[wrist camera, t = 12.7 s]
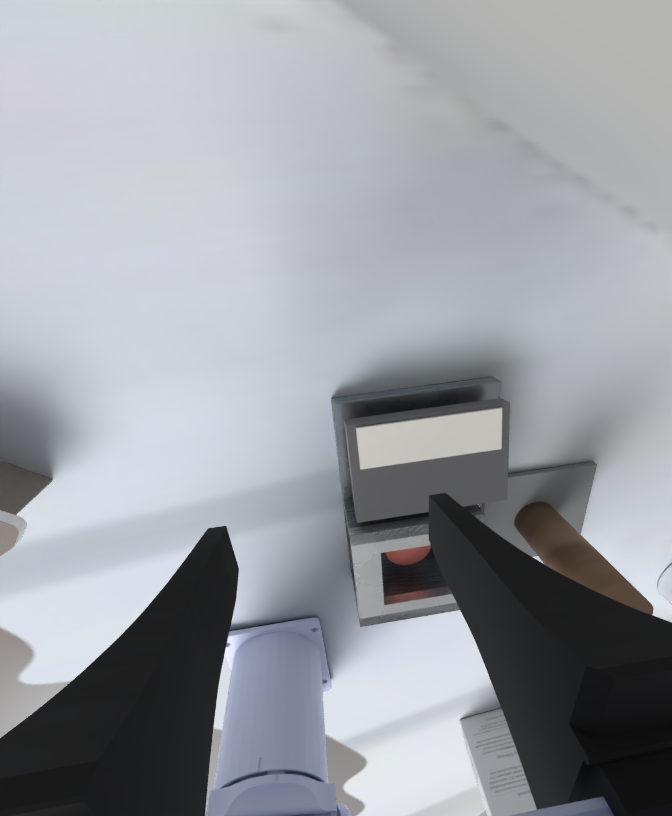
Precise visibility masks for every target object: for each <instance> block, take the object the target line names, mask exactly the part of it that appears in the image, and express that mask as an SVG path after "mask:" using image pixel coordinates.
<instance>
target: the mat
mask: <svg viewBox="0 0 672 816" xmlns="http://www.w3.org/2000/svg"><path fill="white" fill-rule="evenodd" d="M596 466H597V464H595V463H594V462H593V461H592V462H586V463H579V464H572V465H566V466H559V467H552V468H546V469H539V470H532V471H526V472H519V473H512V474H508V494H507V500H503V501H496V502H490V503H483V504H482V506H481V511H482V512H483V513H484V515H485V516H484V524H485V525H486V526H488V527H489V528H490V529H492V530H493V531H494V532H496V533H497V534H498V535H500V536H501V537H502V538H504V539H505V540H507V541H508V542H510V543H511V544H513V545H514V546H516V547H517V548H518V549H520V550H521V551H523V552H525V553H526V554H528V555H529V556H531V557H533V556H538V555H537V554H536V553H535V552H534V550H533V549H532V548H531V547H530V545H529V544H528V543H527V542H526V540H525V539H524V538H523V537H522V535H521V534H520V533H519V532H518V530H517V529H516V528H515V525H514V520H515V517H516V515H517V513H518V512H519V511H520V510H521V509H522V508H523V507H525V506H526V505H528V504H530V503H533V502H546V503H548V504H550V505H551V506H552V507H553V508H554V509H555V510H556V511H557V512H558V513H559V514H560V515H561V516H562V517H563V518H564V519H565V520H566V521H567V522H568V523H569V524H570V525H571V526H572V527H573V528H574V529H575V530H576V531H577V532H578V533H579V534H581V530H582V525H583V521H584V517H585V513H586V508H587V504H588V500H589V496H590V492H591V487H592V483H593V479H594V475H595V471H596Z"/></svg>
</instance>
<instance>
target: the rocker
mask: <svg viewBox="0 0 672 816" xmlns="http://www.w3.org/2000/svg"><path fill="white" fill-rule="evenodd" d="M509 414H510V403H509V402H507V401H505V400H503V399H501V398H498V399H490V400H483V401H476V402H469V403H461V404H454V405H447V406H440V407H432V408H425V409H418V410H410V411H403V412H396V413H389V414H381V415H374V416H367V417H360V418H352V419H345V420H344V423H345V432H346V441H347V450H348V458H349V467H350V476H351V484H352V493H353V502H354V511H355V516H356V520H357V523H360V522H366V521H373V520H379V519H386V518H392V517H399V516H405V515H412V514H418V513H425V512H429V495H435V494H441V493H446V494H448V495H449V496H450V497H451V498H453V499H454V500H455V501H456V502H458V503H459V504H460V505H461V506H462V507H464V506H470V505H477V504H483V503H490V502H496V501H503V500H507V494H508V454H509Z"/></svg>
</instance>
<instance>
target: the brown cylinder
mask: <svg viewBox="0 0 672 816" xmlns="http://www.w3.org/2000/svg"><path fill="white" fill-rule="evenodd" d="M514 525H515V528H516V529H517V530H518V532H519V533H520V534H521V535H522V537H523V538H524V539H525V540H526V542H527V543H528V544H529V545H530V547H531V548H532V549H533V550H534V552H535V553H536V554H537V555H538V556H539V558H540V559H541V560H542V561H543V563H544V564H545V565H546V566H548V567H549V568H551V569H553V570H555V571H557V572H558V573H560V574H562V575H564V576H566V577H568V578H570V579H572V580H574V581H576V582H578V583H580V584H582V585H584V586H585V587H587V588H590V589H592V590H594V591H596V592H598V593H600V594H602V595H604V596H607V597H609V598H611V599H614V600H616V601H618V602H620V603H623V604H625V605H627V606H630V607H632V608H634V609H637V610H639V611H642V612H645V613H647V614H650V615H652V614H653V606H652V604H651V603H650V602H649V601H648V600H647V599H646V598H645V597H644V596H643V595H642V594H641V593H640V592H639V591H637V590H636V589H635V588H634V587H633V586H632V585H631V584H630V583H629V582H628V581H627V580H626V579H625V578H624V577H623V576H622V575H621V574H620V573H619V572H618V571H617V570H616V569H615V568H614V567H613V566H612V565H611V564H610V563H609V562H608V561H607V560H606V559H605V558H604V557H603V556H602V555H601V554H600V553H599V552H598V551H597V550H596V549H595V548H594V547H593V546H592V545H591V544H590V543H588V542H587V541H586V540H585V539H584V538H583V537H582V536H581V535H580V534H579V533H578V532H577V531H576V530H575V529H574V528H573V527H572V526H571V525H570V524H569V523H568V522H567V521H566V520H565V519H564V518H563V517H562V516H561V515H560V514H559V513H558V512H557V511H556V510H555V509H554V508H553V507H552V506H551V505H550V504H548V503H546V502H533V503H530V504H528V505H526V506H525V507H523V508H522V509H521V510H520V511H519V512H518V513H517V515H516V517H515V520H514Z"/></svg>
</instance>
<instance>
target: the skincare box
mask: <svg viewBox="0 0 672 816" xmlns="http://www.w3.org/2000/svg"><path fill="white" fill-rule="evenodd" d="M460 725H461V730H462V733H463V737H464V741H465V745H466V749H467V752H468V756H469V759H470V762H471V765H472V769H473V772H474V775H475V778H476V782H477V785H478V788H479V791H480V794H481V797H482V800H483V803H484V806H485V809H486V812H487V816H509V815H514V814H519V813H524V812H529V811H534V810H537V809H536V805H535V802H534V799H533V796H532V794H531V791H530V788H529V785H528V782H527V779H526V776H525V773H524V770H523V767H522V764H521V761H520V758H519V755H518V753H517V750H516V747H515V744H514V741H513V739H512V736H511V733H510V730H509V728H508V725H507V722H506V719H505V716H504V714H503V711H502V708H500V709H496V710H492V711H489V712H485V713H482V714H478V715H475V716H471V717H467V718H464V719H460Z"/></svg>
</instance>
